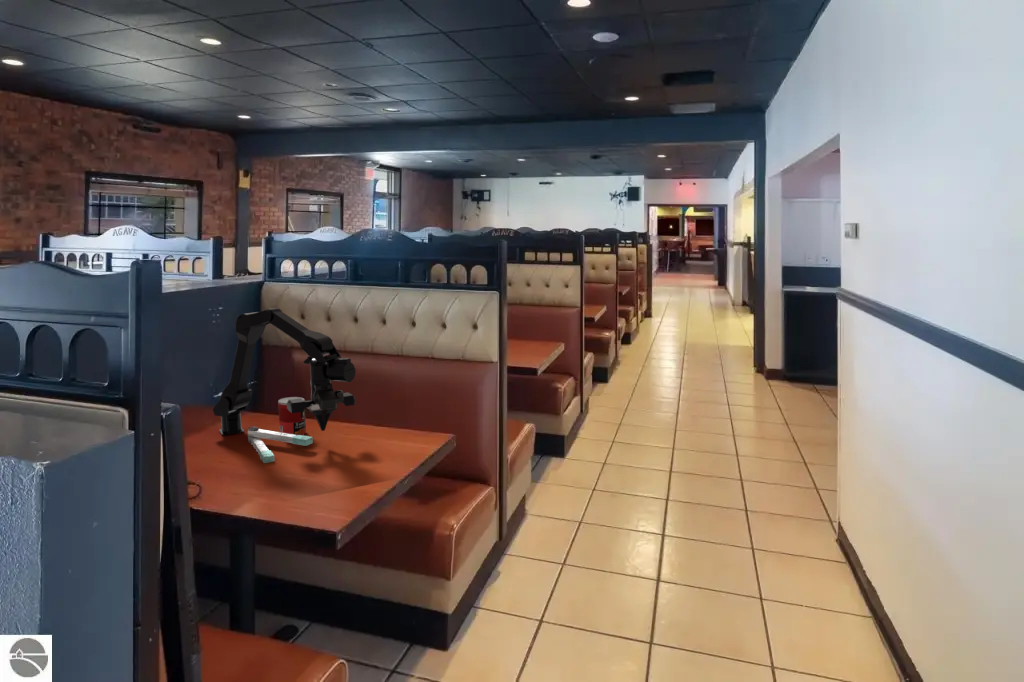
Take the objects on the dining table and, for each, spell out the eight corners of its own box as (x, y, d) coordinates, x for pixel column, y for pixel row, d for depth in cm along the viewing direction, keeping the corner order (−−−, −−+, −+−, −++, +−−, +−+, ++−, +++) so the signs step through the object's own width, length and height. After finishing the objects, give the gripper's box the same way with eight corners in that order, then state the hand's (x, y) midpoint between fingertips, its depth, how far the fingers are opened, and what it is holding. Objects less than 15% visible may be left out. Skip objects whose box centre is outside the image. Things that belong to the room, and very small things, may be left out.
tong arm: (245, 436, 192) (245, 428, 192) (253, 433, 195) (253, 425, 195) (305, 446, 183) (305, 437, 183) (313, 442, 186) (312, 434, 186)
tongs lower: (247, 441, 194) (247, 435, 193) (258, 439, 195) (258, 433, 195) (263, 463, 175) (262, 457, 175) (275, 461, 177) (274, 455, 176)
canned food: (298, 438, 197) (296, 403, 195) (274, 436, 198) (272, 402, 197) (310, 431, 204) (309, 397, 202) (288, 429, 206) (286, 396, 204)
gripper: (295, 388, 176) (297, 443, 178) (361, 380, 186) (362, 432, 188) (285, 380, 185) (287, 432, 187) (348, 373, 195) (350, 423, 197)
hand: (322, 430), depth 190 cm, fingers closed
